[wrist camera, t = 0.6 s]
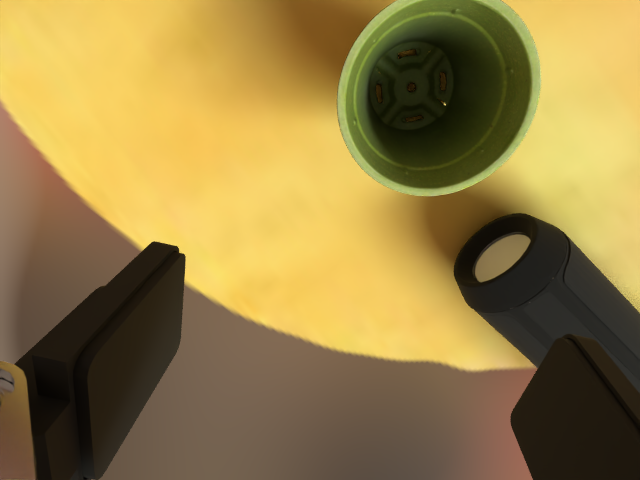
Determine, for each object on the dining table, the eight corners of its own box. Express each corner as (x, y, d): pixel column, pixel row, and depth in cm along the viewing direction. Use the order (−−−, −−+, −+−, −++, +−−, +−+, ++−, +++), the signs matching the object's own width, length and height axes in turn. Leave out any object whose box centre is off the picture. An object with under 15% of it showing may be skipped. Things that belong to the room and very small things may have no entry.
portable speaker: (436, 257, 40) (459, 316, 31) (519, 190, 37) (572, 234, 28) (583, 393, 46) (638, 476, 37) (667, 347, 43) (750, 426, 34)
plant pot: (393, 181, 37) (406, 229, 27) (315, 74, 34) (297, 83, 24) (511, 100, 34) (578, 121, 23) (436, -30, 30) (476, -72, 20)
